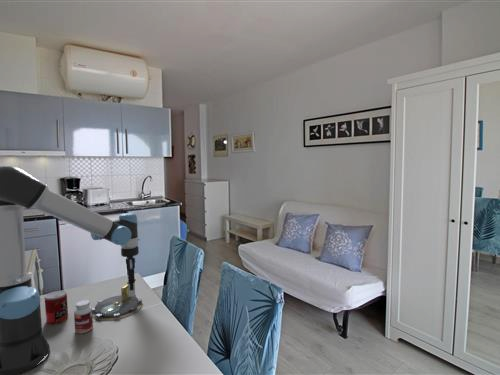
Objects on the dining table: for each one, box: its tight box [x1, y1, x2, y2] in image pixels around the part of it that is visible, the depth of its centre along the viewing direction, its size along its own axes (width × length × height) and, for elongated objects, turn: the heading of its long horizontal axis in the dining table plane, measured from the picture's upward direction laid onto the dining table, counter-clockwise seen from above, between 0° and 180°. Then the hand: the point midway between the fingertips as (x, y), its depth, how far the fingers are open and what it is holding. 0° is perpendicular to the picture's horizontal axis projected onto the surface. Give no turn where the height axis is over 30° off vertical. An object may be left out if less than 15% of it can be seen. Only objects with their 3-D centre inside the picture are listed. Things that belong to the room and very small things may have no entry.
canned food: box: [44, 290, 69, 325], centre depth 121 cm, size 8×8×11 cm
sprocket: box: [92, 284, 143, 319], centre depth 130 cm, size 21×21×8 cm
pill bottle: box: [73, 299, 94, 334], centre depth 114 cm, size 6×6×11 cm
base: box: [92, 302, 143, 321], centre depth 131 cm, size 21×21×1 cm
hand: (132, 295), depth 136 cm, fingers closed
